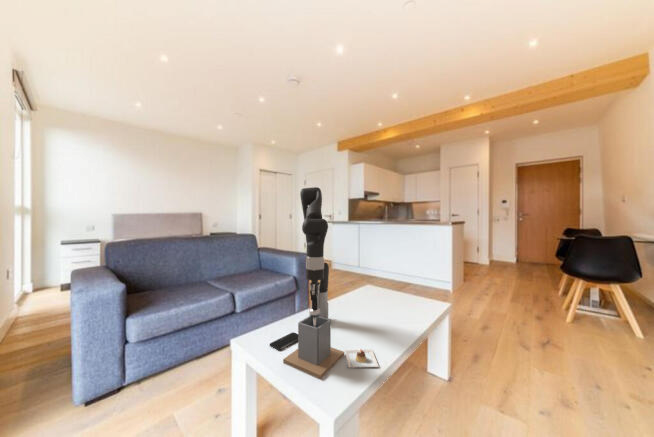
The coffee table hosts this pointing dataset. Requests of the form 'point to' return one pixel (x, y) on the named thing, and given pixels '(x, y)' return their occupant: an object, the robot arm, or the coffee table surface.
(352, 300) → the coffee table surface
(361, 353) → the dessert
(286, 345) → the phone
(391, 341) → the coffee table surface
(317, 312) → the plunger
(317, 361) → the grey square holder
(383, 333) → the coffee table surface
